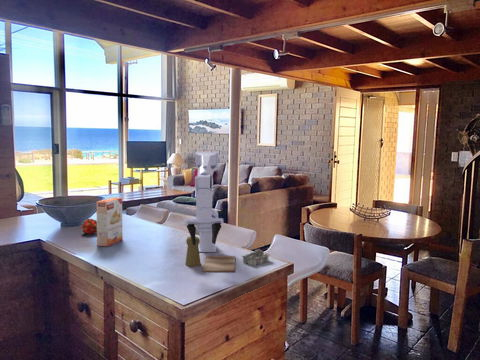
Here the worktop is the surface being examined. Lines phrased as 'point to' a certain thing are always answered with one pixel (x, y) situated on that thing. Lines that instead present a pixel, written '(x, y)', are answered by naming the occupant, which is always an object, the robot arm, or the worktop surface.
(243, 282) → the worktop surface
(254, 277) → the worktop surface
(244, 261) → the egg carton
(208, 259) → the board
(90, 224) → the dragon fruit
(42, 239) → the worktop surface
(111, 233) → the cracker box
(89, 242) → the worktop surface
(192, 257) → the cork
